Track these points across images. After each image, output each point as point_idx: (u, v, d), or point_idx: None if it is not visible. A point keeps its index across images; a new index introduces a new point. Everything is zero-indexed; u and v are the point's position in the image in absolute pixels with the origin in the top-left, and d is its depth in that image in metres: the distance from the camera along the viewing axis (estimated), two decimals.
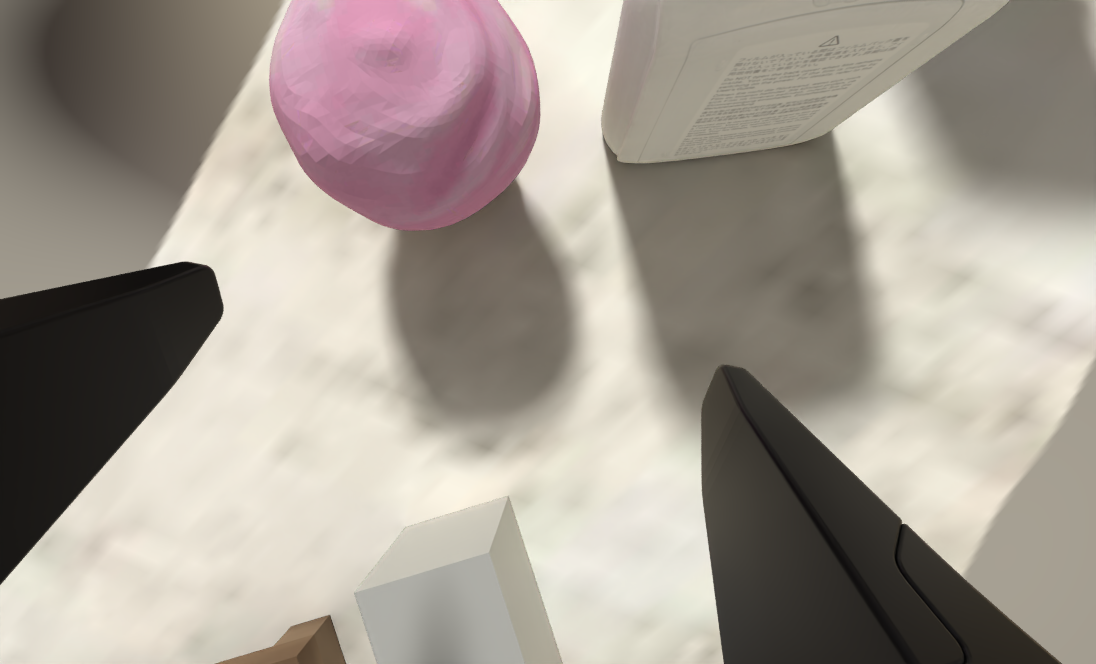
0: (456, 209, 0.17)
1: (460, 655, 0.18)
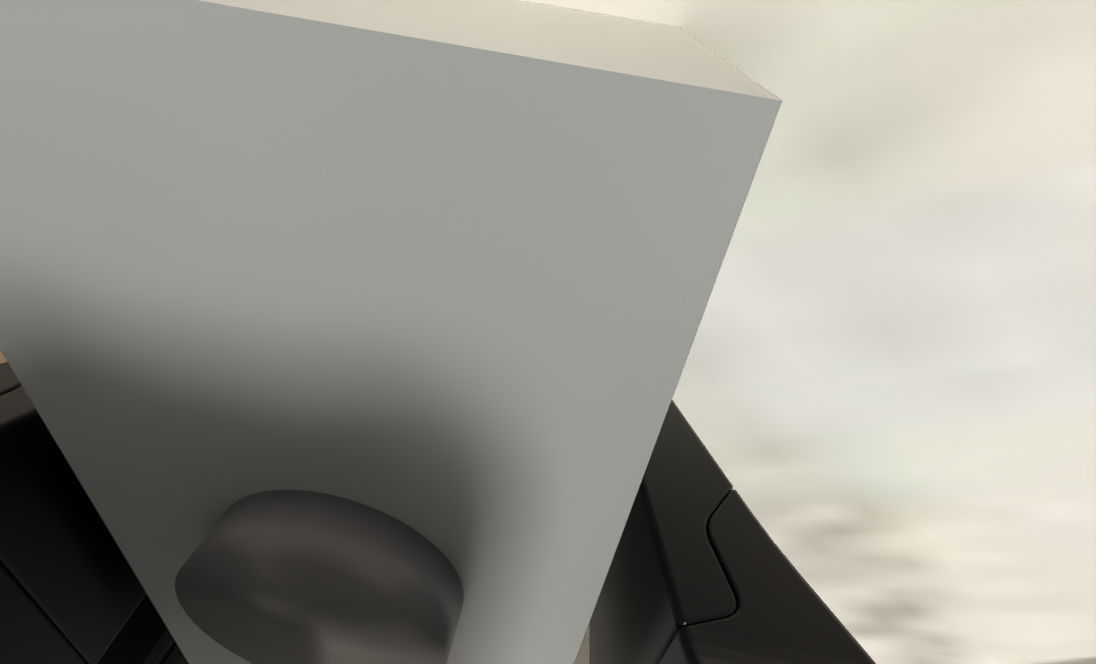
0: None
1: (372, 473, 0.04)
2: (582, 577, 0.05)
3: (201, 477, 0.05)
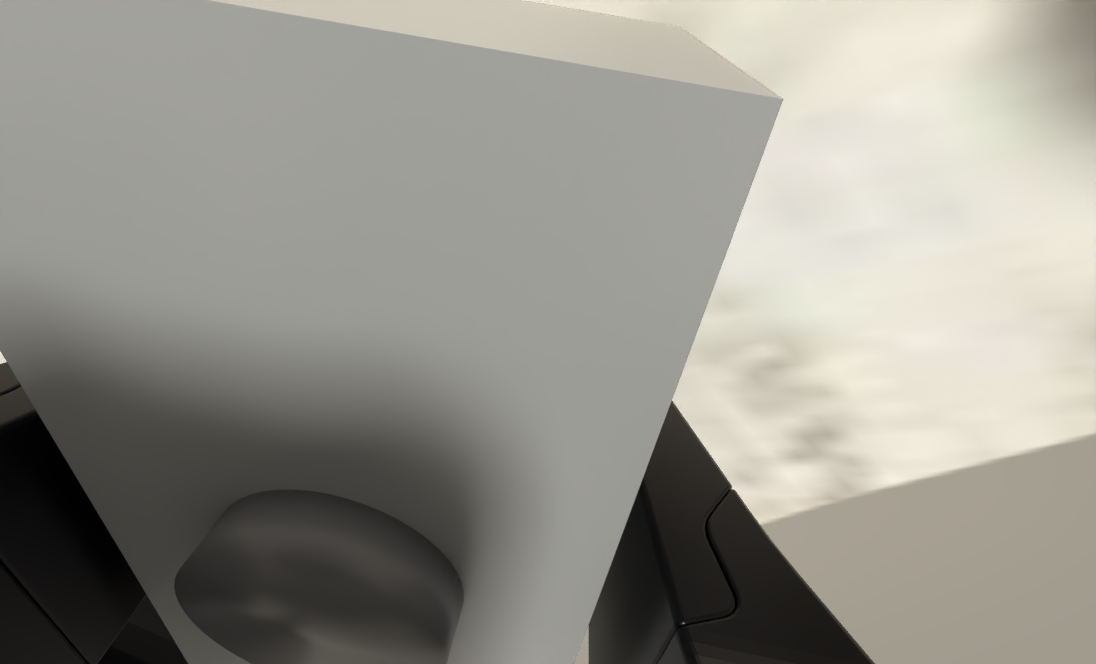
0: None
1: (371, 474, 0.04)
2: (582, 577, 0.05)
3: (201, 476, 0.05)
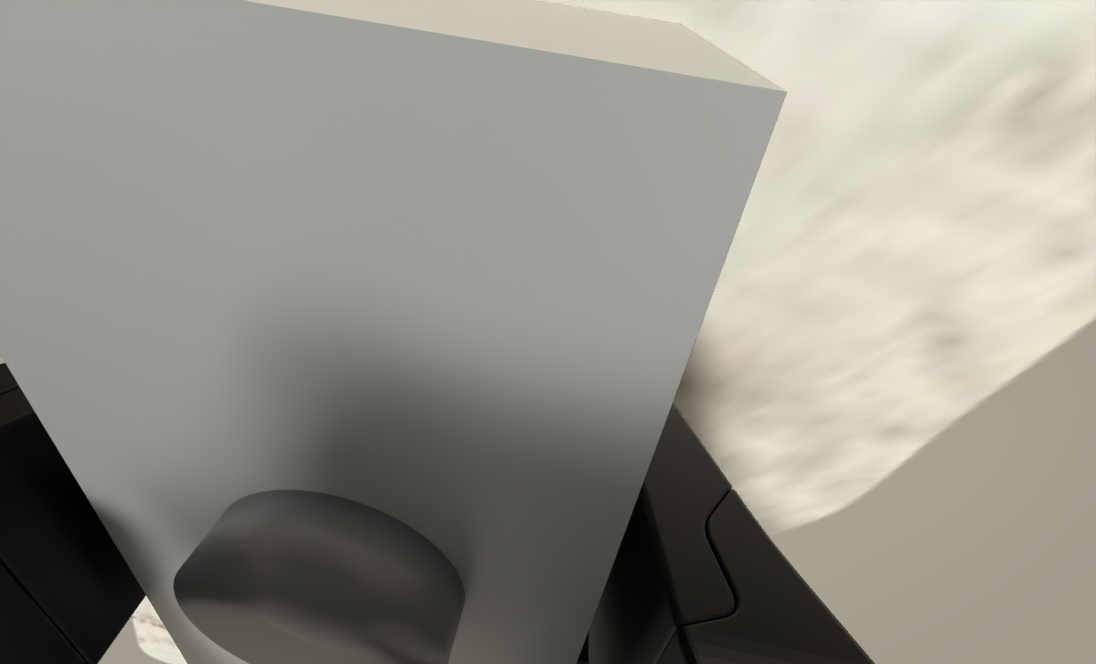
0: None
1: (371, 472, 0.04)
2: (584, 577, 0.05)
3: (200, 477, 0.05)
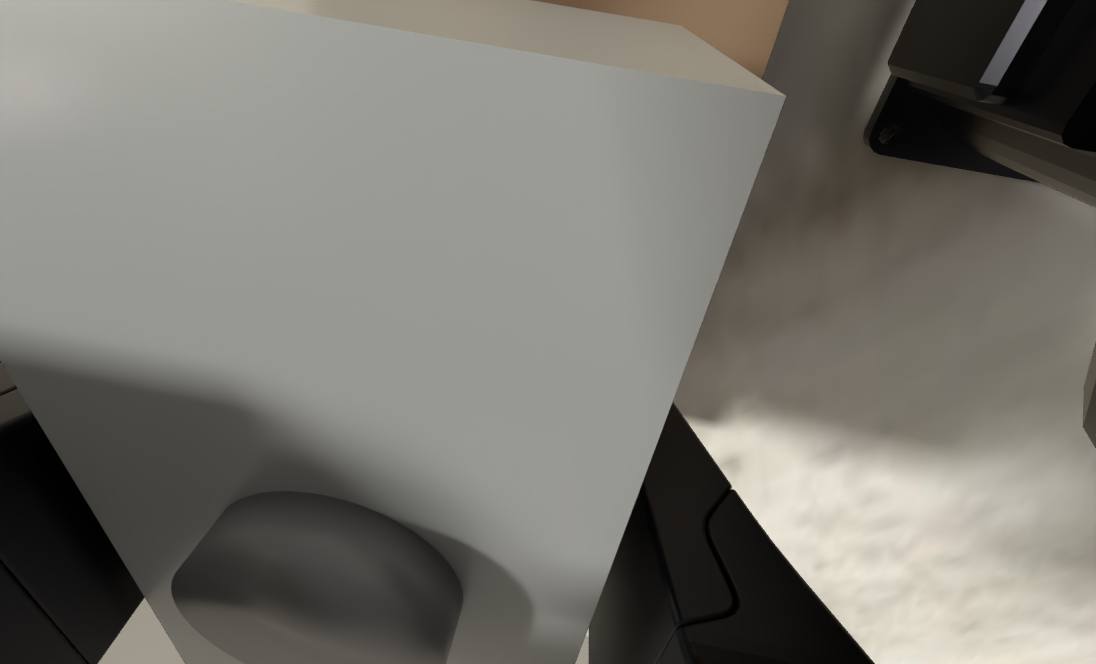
0: None
1: (369, 475, 0.04)
2: (582, 579, 0.05)
3: (199, 478, 0.05)
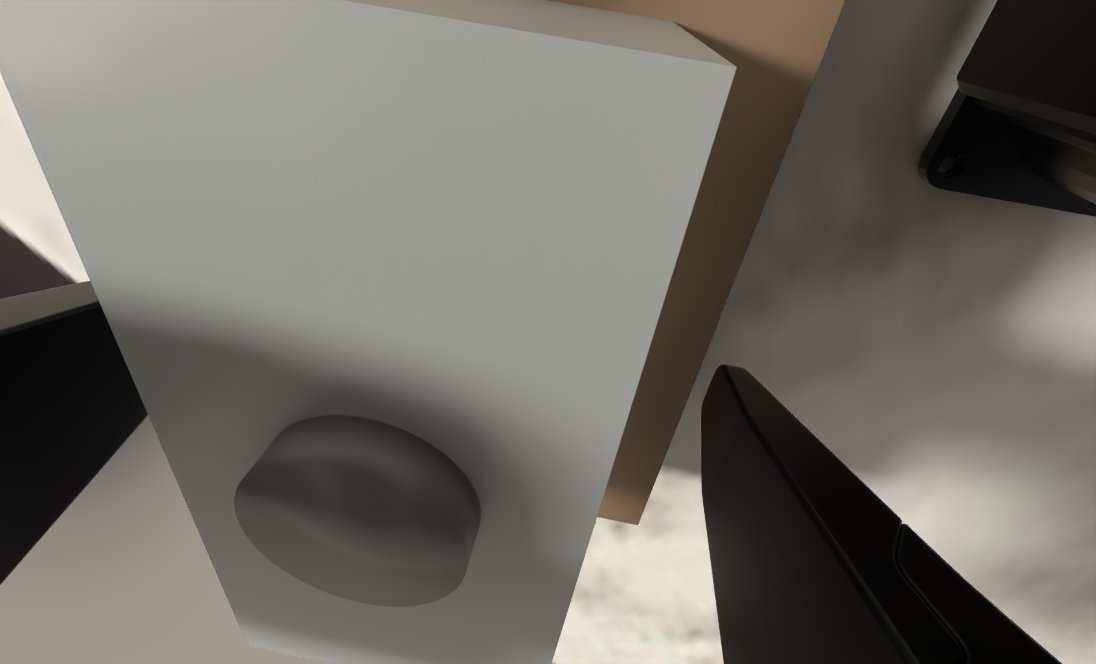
0: None
1: (405, 397, 0.05)
2: (584, 492, 0.05)
3: (257, 405, 0.05)
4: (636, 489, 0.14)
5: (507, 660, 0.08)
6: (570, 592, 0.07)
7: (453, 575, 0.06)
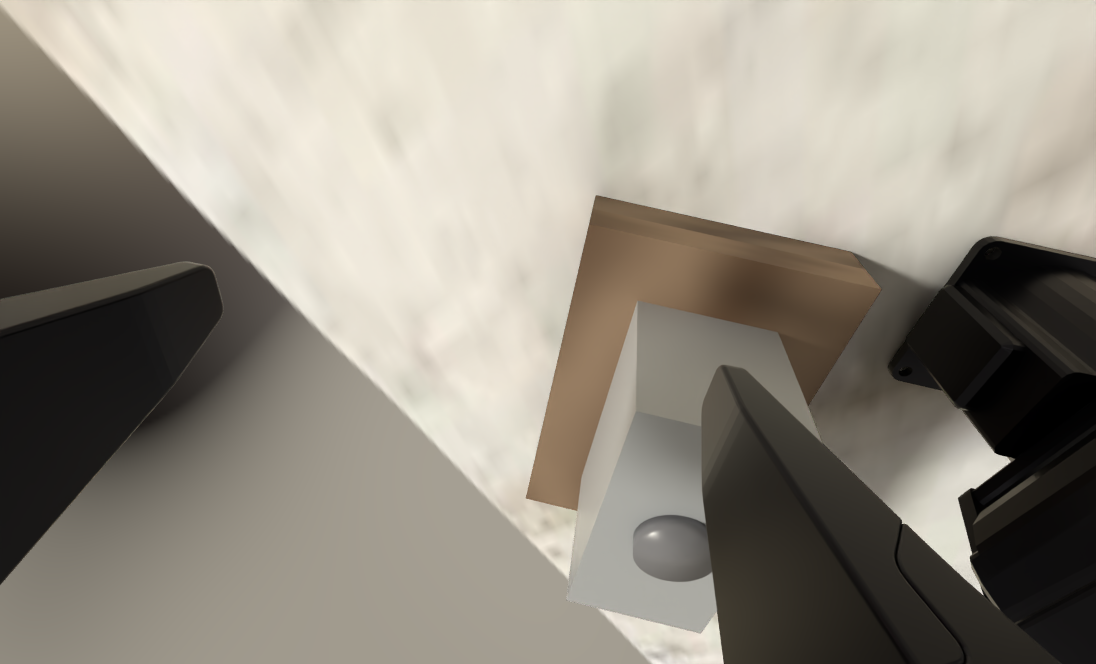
0: None
1: None
2: None
3: (647, 510, 0.16)
4: None
5: (696, 608, 0.18)
6: None
7: (708, 570, 0.16)
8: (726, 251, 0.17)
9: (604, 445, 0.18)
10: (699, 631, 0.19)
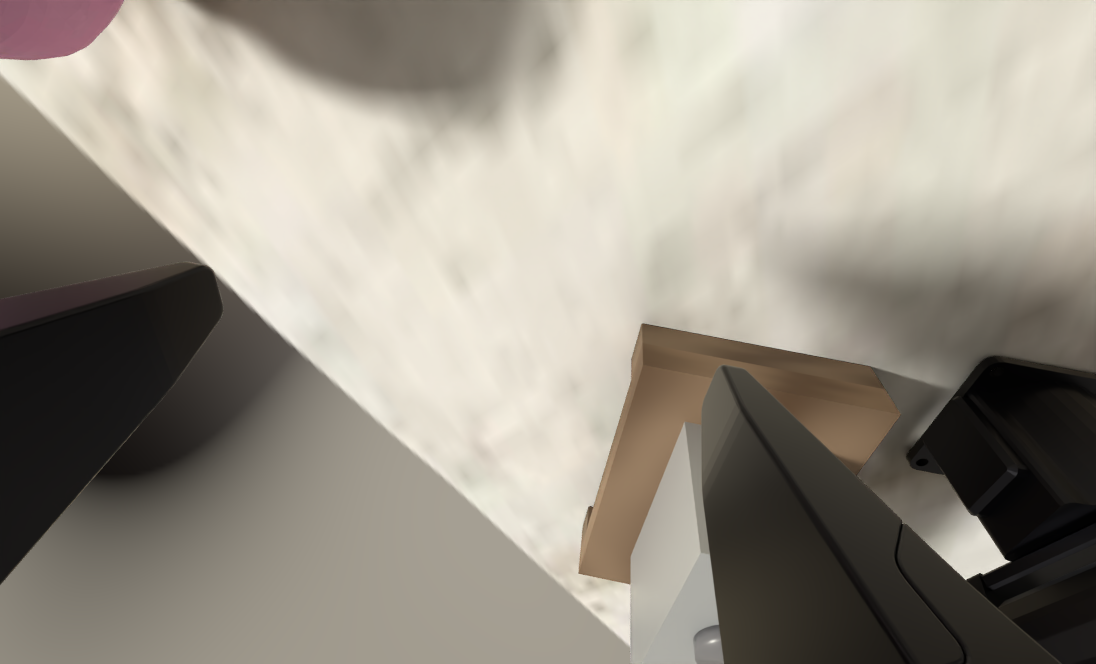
0: None
1: None
2: None
3: (707, 620, 0.18)
4: None
5: None
6: None
7: None
8: (763, 383, 0.20)
9: (660, 550, 0.21)
10: None
